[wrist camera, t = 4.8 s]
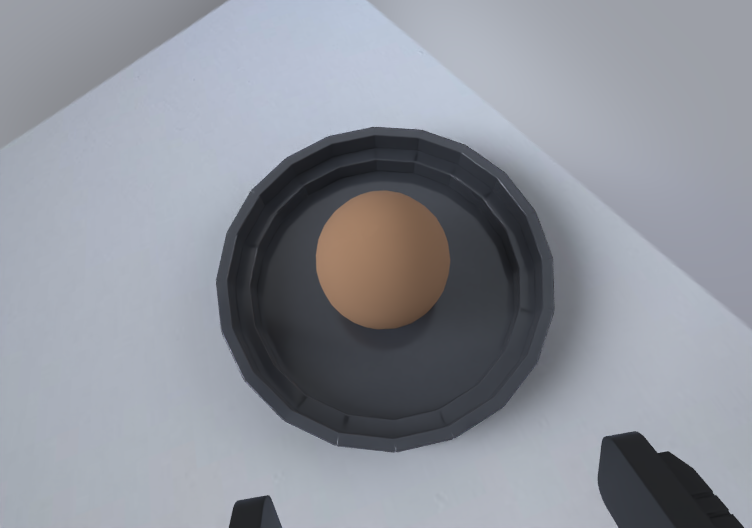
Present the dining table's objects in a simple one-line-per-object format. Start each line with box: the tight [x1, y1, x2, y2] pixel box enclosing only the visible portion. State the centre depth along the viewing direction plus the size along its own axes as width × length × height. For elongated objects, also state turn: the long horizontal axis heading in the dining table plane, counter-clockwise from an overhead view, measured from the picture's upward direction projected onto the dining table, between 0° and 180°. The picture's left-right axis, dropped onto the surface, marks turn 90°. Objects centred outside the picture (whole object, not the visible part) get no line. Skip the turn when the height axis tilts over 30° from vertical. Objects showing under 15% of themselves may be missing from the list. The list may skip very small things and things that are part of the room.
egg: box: [316, 190, 450, 329], centre depth 22 cm, size 6×6×8 cm
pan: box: [216, 127, 554, 452], centre depth 24 cm, size 17×17×3 cm
